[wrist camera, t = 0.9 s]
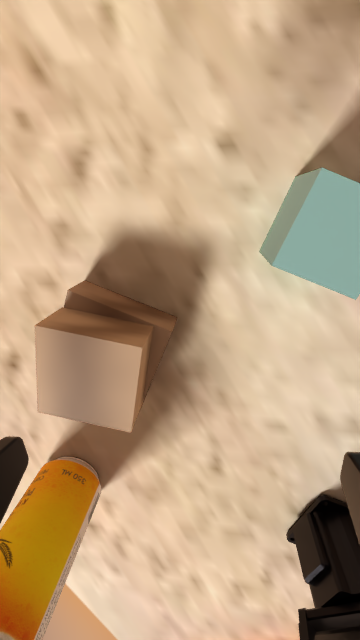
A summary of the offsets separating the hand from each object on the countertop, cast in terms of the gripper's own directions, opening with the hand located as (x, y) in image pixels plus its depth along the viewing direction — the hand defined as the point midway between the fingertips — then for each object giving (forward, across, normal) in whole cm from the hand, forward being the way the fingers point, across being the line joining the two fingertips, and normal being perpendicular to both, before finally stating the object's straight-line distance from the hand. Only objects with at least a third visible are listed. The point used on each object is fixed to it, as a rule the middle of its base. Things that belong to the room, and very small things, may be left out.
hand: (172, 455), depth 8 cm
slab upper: (+10, +6, +3) cm, 12 cm away
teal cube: (+13, -7, -5) cm, 15 cm away
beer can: (+13, +13, +17) cm, 25 cm away
